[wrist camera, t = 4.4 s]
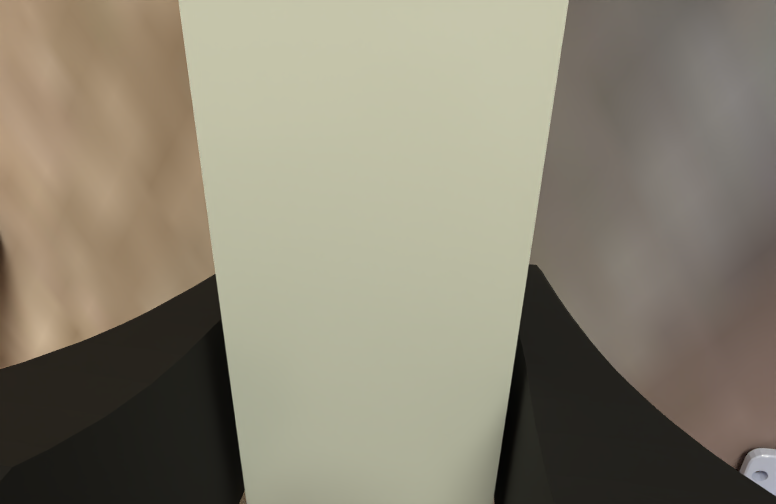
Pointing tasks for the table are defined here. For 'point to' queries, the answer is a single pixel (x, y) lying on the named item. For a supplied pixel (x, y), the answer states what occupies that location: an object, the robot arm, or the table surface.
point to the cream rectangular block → (371, 232)
